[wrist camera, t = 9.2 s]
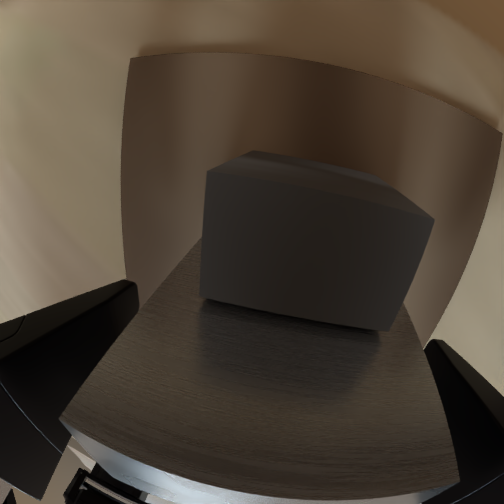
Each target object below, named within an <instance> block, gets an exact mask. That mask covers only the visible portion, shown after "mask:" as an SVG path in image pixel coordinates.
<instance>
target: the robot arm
mask: <svg viewBox="0 0 504 504" xmlns="http://www.w3.org/2000/svg"><path fill="white" fill-rule="evenodd" d="M139 307H140V303H139V295H138V287H137V284H136V283H135V282H133V281H129V280H125V279H123V280H120V281H117V282H115V283H112V284H109V285H106V286H103V287H100V288H98V289H95V290H92V291H89V292H86V293H84V294H81V295H78V296H75V297H73V298H70V299H67V300H64V301H62V302H59V303H56V304H53V305H51V306H48V307H45V308H42V309H40V310H37V311H34V312H32V313H29V314H27V315H23V316H21V317H18V318H15V319H13V320H10V321H7V322H4V323H1V324H0V504H16V500H15V497H14V493H13V489H11V488H12V486H13V487H15V488H17V489H19V490H20V491H22V492H24V493H26V494H27V495H29V496H31V497H33V498H35V499H37V500H39V501H41V499H42V497H43V495H44V493H45V491H46V489H47V486H48V484H49V482H50V480H51V477H52V475H53V473H54V471H55V469H56V467H57V465H58V463H59V461H60V458H61V456H62V454H63V452H64V450H65V448H66V446H67V444H68V442H69V440H70V438H71V436H72V434H71V433H70V432H69V431H68V430H67V428H66V427H65V426H64V425H63V424H62V422H61V421H60V420H59V418H60V416H61V415H62V413H63V412H64V410H65V409H66V407H67V406H68V404H69V403H70V402H71V400H72V399H73V397H74V396H75V394H76V393H77V392H78V390H79V389H80V387H81V386H82V385H83V383H84V382H85V381H86V379H87V378H88V376H89V375H90V374H91V372H92V371H93V370H94V368H95V367H96V366H97V364H98V363H99V362H100V360H101V359H102V358H103V356H104V355H105V354H106V352H107V351H108V350H109V348H110V347H111V346H112V345H113V343H114V342H115V341H116V339H117V338H118V337H119V335H120V334H121V333H122V332H123V330H124V329H125V328H126V327H127V325H128V324H129V323H130V322H131V320H132V319H133V318H134V316H135V315H136V314H137V313H138V311H139ZM424 352H425V355H426V358H427V360H428V363H429V366H430V369H431V371H432V374H433V377H434V380H435V383H436V386H437V389H438V392H439V395H440V399H441V402H442V405H443V408H444V412H445V415H446V419H447V423H448V427H449V430H450V434H451V438H452V443H453V447H454V452H455V456H456V461H457V467H458V472H459V478H460V482H459V483H457V484H455V485H454V486H452V487H450V488H448V489H447V490H445V491H443V492H441V493H439V494H438V495H436V496H434V497H432V498H430V499H428V500H426V501H424V502H422V504H504V397H503V396H502V395H501V394H500V393H499V392H498V391H497V390H496V389H495V388H494V387H493V386H492V385H491V384H490V383H489V382H488V381H487V380H486V379H485V378H484V377H483V376H482V375H481V374H480V373H478V372H477V371H476V370H475V369H474V368H473V367H472V366H471V365H470V364H469V363H468V362H467V361H466V360H464V359H463V358H462V357H461V356H460V355H459V354H458V353H457V352H456V351H454V350H453V349H452V348H451V347H450V346H449V345H448V344H447V343H445V342H444V341H443V340H439V339H432V340H430V341H429V343H428V344H427V346H426V347H425V349H424ZM86 479H88V480H89V481H91V482H93V483H95V484H96V485H98V486H100V487H101V488H103V489H105V490H107V491H109V492H110V493H112V494H114V495H116V496H118V497H120V498H122V499H124V500H127V501H128V502H131V503H133V504H150V503H146V502H145V500H146V498H147V495H148V494H149V493H147V492H144V491H142V490H140V489H137V488H135V487H133V486H130V485H128V484H126V483H124V482H122V481H119V480H117V479H115V478H113V477H112V476H111V475H110V474H109V473H108V472H107V471H105V470H104V469H103V468H102V467H101V466H100V465H99V464H98V463H97V462H96V464H95V466H94V468H93V470H92V472H91V473H89V472H88V471H86V470H83V469H81V468H79V469H78V471H77V473H76V474H75V476H74V478H73V479H72V481H71V483H70V484H69V486H68V487H67V489H66V491H65V492H64V494H63V496H64V498H65V503H66V504H125V503H124V502H121V501H120V500H117V499H115V498H113V497H112V496H110V495H108V494H106V493H104V492H102V491H100V490H98V489H97V488H95V487H93V486H92V485H90V484H88V483H87V482H85V481H86ZM81 488H83V489H81Z"/></svg>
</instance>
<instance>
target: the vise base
mask: <svg viewBox="0 0 504 504" xmlns="http://www.w3.org/2000/svg"><path fill="white" fill-rule="evenodd" d="M501 141H502V133H501V132H499V131H498V130H496V129H494V128H493V127H491V126H489V125H488V124H486V123H484V122H482V121H481V120H479V119H477V118H475V117H473V116H471V115H470V114H468V113H466V112H464V111H462V110H460V109H458V108H456V107H454V106H452V105H450V104H447V103H445V102H443V101H441V100H439V99H436V98H434V97H432V96H429V95H427V94H424V93H422V92H419V91H417V90H414V89H412V88H409V87H406V86H404V85H401V84H398V83H395V82H392V81H389V80H386V79H383V78H379V77H376V76H373V75H369V74H366V73H362V72H359V71H355V70H351V69H347V68H342V67H338V66H334V65H329V64H324V63H319V62H313V61H308V60H302V59H295V58H288V57H280V56H271V55H260V54H247V53H220V52H203V53H177V54H163V55H153V56H144V57H136V58H131V59H130V65H129V72H128V79H127V87H126V95H125V105H124V116H123V129H122V149H121V212H122V232H123V246H124V257H125V268H126V277H127V280H129V281H133V282H135V283H136V284H137V287H138V295H139V303H140V307H139V310H140V309H141V308H142V307H143V305H144V304H145V303H146V302H147V300H148V299H149V298H150V297H151V296H152V294H153V293H154V292H155V291H156V289H157V288H158V287H159V286H160V285H161V283H162V282H163V281H164V280H165V279H166V278H167V276H168V275H169V274H170V273H171V272H172V270H173V269H174V268H175V267H176V266H177V265H178V263H179V262H180V261H181V260H182V259H183V258H184V256H185V255H186V254H187V253H188V252H189V251H190V249H191V248H192V247H193V246H194V245H195V244H196V243H197V241H198V240H199V239H200V238H201V237H202V243H201V263H200V286H199V296H200V297H204V298H208V299H213V300H217V301H221V302H226V303H230V304H235V305H239V306H244V307H248V308H253V309H258V310H263V311H268V312H273V313H278V314H283V315H288V316H293V317H299V318H304V319H310V320H316V321H321V322H327V323H333V324H339V325H346V326H352V327H359V328H365V329H372V330H380V331H387V332H389V330H390V328H391V326H392V324H393V322H394V320H395V318H396V316H397V314H398V312H399V310H400V308H401V306H402V304H403V303H404V305H405V307H406V309H407V311H408V314H409V316H410V318H411V320H412V323H413V325H414V327H415V330H416V332H417V335H418V337H419V340H420V342H421V345H422V347H423V348H424V346H425V344H426V343H427V341H428V340H429V338H430V336H431V335H432V333H433V331H434V329H435V328H436V326H437V324H438V322H439V321H440V319H441V317H442V315H443V313H444V311H445V309H446V308H447V306H448V304H449V302H450V300H451V298H452V296H453V294H454V292H455V290H456V287H457V285H458V283H459V281H460V279H461V277H462V274H463V272H464V270H465V267H466V265H467V263H468V260H469V258H470V255H471V253H472V250H473V248H474V245H475V242H476V239H477V237H478V234H479V231H480V228H481V225H482V222H483V219H484V216H485V212H486V209H487V206H488V202H489V198H490V195H491V191H492V187H493V183H494V178H495V174H496V169H497V164H498V159H499V154H500V148H501ZM138 312H139V311H138Z"/></svg>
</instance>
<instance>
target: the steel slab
mask: <svg viewBox="0 0 504 504" xmlns="http://www.w3.org/2000/svg"><path fill="white" fill-rule="evenodd" d="M201 243H202V237H201V238H200V239H199V240H198V241H197V243H196V244H195V245H194V246H193V247H192V248H191V249H190V251H189V252H188V253H187V254H186V255H185V256H184V258H183V259H182V260H181V261H180V262H179V263H178V265H177V266H176V267H175V268H174V269H173V270H172V272H171V273H170V274H169V275H168V276H167V278H166V279H165V280H164V281H163V282H162V283H161V285H160V286H159V287H158V288H157V289H156V291H155V292H154V293H153V294H152V296H151V297H150V298H149V299H148V300H147V302H146V303H145V304H144V305H143V307H142V308H141V309H140V310H139V312H138V313H137V314H136V315H135V316H134V318H133V319H132V320H131V322H130V323H129V324H128V325H127V327H126V328H125V329H124V330H123V332H122V333H121V334H120V335H119V337H118V338H117V339H116V341H115V342H114V343H113V345H112V346H111V347H110V348H109V350H108V351H107V352H106V354H105V355H104V356H103V358H102V359H101V360H100V362H99V363H98V364H97V366H96V367H95V368H94V370H93V371H92V372H91V374H90V375H89V376H88V378H87V379H86V381H85V382H84V383H83V385H82V386H81V387H80V389H79V390H78V392H77V393H76V394H75V396H74V397H73V399H72V400H71V402H70V403H69V404H68V406H67V407H66V409H65V410H64V412H63V413H62V415H61V416H60V418H59V420H60V421H61V422H62V424H63V425H64V426H65V427H66V428H67V430H68V431H69V432H70V433H71V434H72V436H73V437H74V438H75V439H76V440H77V441H78V442H79V444H80V445H81V446H82V447H83V448H84V449H85V450H86V451H87V452H88V453H89V454H90V455H91V457H93V458H94V460H95V461H96V462H97V463H98V464H99V465H100V466H101V467H102V468H103V469H104V470H105V471H107V472H108V473H109V474H110V475H111V476H112V477H113V478H115V479H117V480H119V481H122V482H124V483H126V484H128V485H130V486H133V487H135V488H137V489H140V490H142V491H144V492H147V493H149V494H152V495H155V496H157V497H160V498H163V499H166V500H168V501H171V502H174V503H177V504H420V503H422V502H424V501H426V500H428V499H430V498H432V497H434V496H436V495H438V494H439V493H441V492H443V491H445V490H447V489H448V488H450V487H452V486H454V485H455V484H457V483H459V482H460V478H459V472H458V467H457V461H456V456H455V452H454V447H453V443H452V438H451V434H450V430H449V427H448V423H447V419H446V415H445V412H444V408H443V405H442V402H441V399H440V395H439V392H438V389H437V386H436V383H435V380H434V377H433V374H432V371H431V369H430V366H429V363H428V360H427V358H426V355H425V352H424V350H423V347H422V345H421V342H420V340H419V337H418V335H417V332H416V330H415V327H414V325H413V323H412V320H411V318H410V316H409V314H408V311H407V309H406V307H405V305H404V303H403V304H402V306H401V308H400V310H399V312H398V314H397V316H396V318H395V320H394V322H393V324H392V326H391V328H390V330H389V332H387V331H380V330H372V329H365V328H359V327H352V326H346V325H339V324H333V323H327V322H321V321H316V320H310V319H304V318H299V317H293V316H288V315H283V314H278V313H273V312H268V311H263V310H258V309H253V308H248V307H244V306H239V305H235V304H230V303H226V302H221V301H217V300H213V299H208V298H204V297H200V296H199V286H200V263H201Z"/></svg>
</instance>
